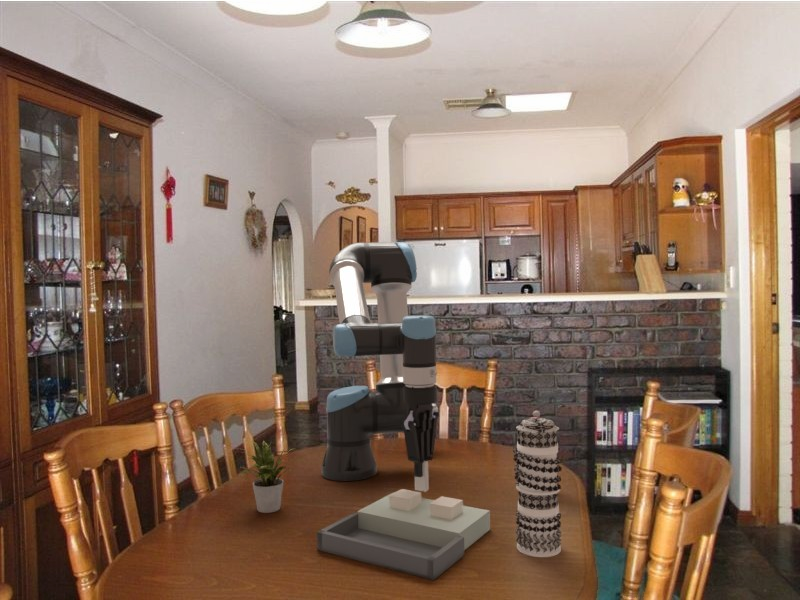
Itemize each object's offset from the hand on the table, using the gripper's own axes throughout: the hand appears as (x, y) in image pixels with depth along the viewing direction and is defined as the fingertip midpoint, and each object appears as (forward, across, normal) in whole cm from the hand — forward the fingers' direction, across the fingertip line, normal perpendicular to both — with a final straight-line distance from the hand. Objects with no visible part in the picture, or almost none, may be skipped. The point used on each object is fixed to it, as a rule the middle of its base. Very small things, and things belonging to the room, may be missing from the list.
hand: (421, 489), depth 144 cm
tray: (+6, -21, -5) cm, 22 cm away
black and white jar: (+6, -5, -29) cm, 30 cm away
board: (+6, -8, -5) cm, 11 cm away
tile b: (+2, -7, -10) cm, 12 cm away
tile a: (+2, -7, 0) cm, 7 cm away
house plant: (+6, -15, +34) cm, 38 cm away
